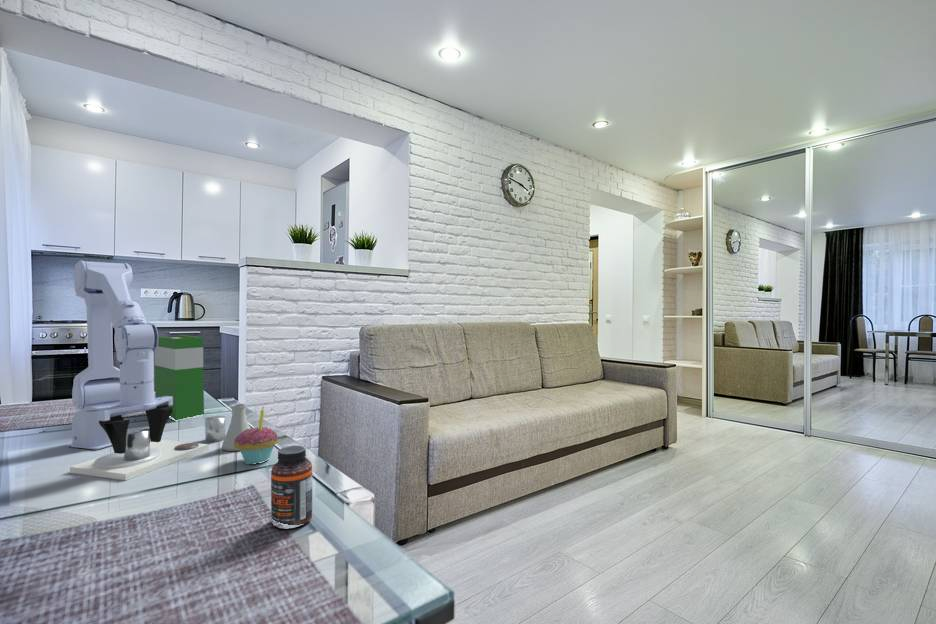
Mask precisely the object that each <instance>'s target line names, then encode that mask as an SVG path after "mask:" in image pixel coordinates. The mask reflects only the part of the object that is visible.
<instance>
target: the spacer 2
mask: <svg viewBox="0 0 936 624" xmlns="http://www.w3.org/2000/svg"><path fill="white" fill-rule="evenodd" d="M204 419H205V420H204V430H205V431H204V434H205V435H204V436H205V437H204V439H205V440H204V441H205V443H206V444H209V443H210V444H211V443H220V442H224V439H225V437H226V434H227V433H226V416H224V415H215V416H214V415H213V416H210V417H206V418H204Z"/></svg>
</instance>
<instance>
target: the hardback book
mask: <svg viewBox="0 0 936 624" xmlns="http://www.w3.org/2000/svg"><path fill="white" fill-rule="evenodd" d="M153 352H154V398H158V397H164V396H172V397H173V405H170V406H168V407H173V412H172V413H171V415H170V416H171V417H173V418H174V419H175V420H178V419H183V418H187V417H193V416H196V415H201V414H204V415H205V401H204V400H205V399H204V397H205V395H204V394H205V390H204V389H205V388H204V387H205V386H204V385H205V384H204V383H205V382H204V336H195V335H194V336H193V335H187V334H186V335H185V334H177V336H176V337H174V336H173V337H168V336H160V335H158V346H157V348H156V350H153Z"/></svg>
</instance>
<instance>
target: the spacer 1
mask: <svg viewBox="0 0 936 624" xmlns="http://www.w3.org/2000/svg"><path fill="white" fill-rule="evenodd" d="M150 442H151V441H150V429H149V428H148V427H147V428H145V427H144V428H143V427H141V428H140V427H139V428H135V429H129V430H127V434H126V451H125V453H124V460H125V461H136V460H141V459H145V458H147V457H149V456H150Z"/></svg>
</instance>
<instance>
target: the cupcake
mask: <svg viewBox="0 0 936 624" xmlns="http://www.w3.org/2000/svg"><path fill="white" fill-rule="evenodd" d="M264 408H265V406H262V409H261V410H260V414H259V415H260V416H259V422H258V427H253V428H251V427H250V429H246V430H245V431H243V432H242V433H241V434H239V435H238V436H237V437H236V439H235V440H234V447H235V448H237V449H239V450H238V451H240V453H241V455H242V458H243V461H244V463H245V464H246V463H247V465H249V464H254V463H259V462H262V461H265V460H267V459H268V458H270V459H271V455H272V451H273V449H274V447H275V446H276V444H277V442H278V439H279V436H278V434H277V432H276V431H274V430H273V429H271V428H268V427H266V426H264V427H263V425H264V415H265V410H264Z"/></svg>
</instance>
